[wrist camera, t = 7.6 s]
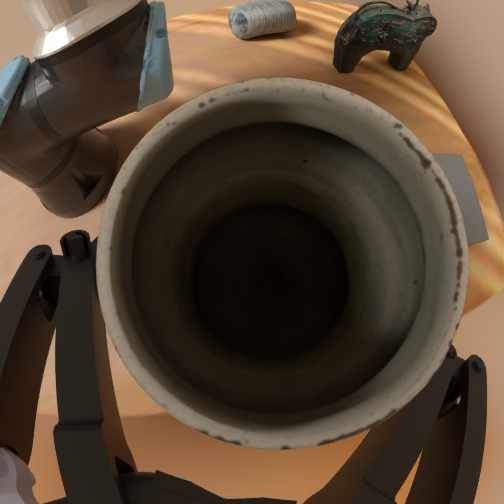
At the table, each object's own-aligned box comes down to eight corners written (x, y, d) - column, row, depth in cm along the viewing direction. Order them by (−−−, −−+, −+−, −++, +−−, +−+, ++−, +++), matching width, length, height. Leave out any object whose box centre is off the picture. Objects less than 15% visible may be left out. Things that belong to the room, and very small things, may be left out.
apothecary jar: (186, 225, 23) (72, 75, 6) (323, 210, 24) (433, 57, 6) (200, 366, 21) (87, 498, 4) (342, 347, 22) (509, 417, 4)
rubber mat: (396, 155, 36) (397, 153, 36) (460, 155, 37) (461, 154, 36) (426, 255, 34) (428, 255, 33) (487, 239, 34) (488, 239, 33)
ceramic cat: (398, 57, 41) (430, -6, 21) (416, 77, 40) (454, 13, 20) (324, 59, 40) (345, -25, 20) (341, 81, 39) (372, -8, 19)
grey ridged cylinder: (234, 40, 37) (238, -7, 29) (221, 37, 43) (224, -4, 35) (302, 45, 41) (308, 3, 33) (281, 40, 46) (286, 2, 39)
